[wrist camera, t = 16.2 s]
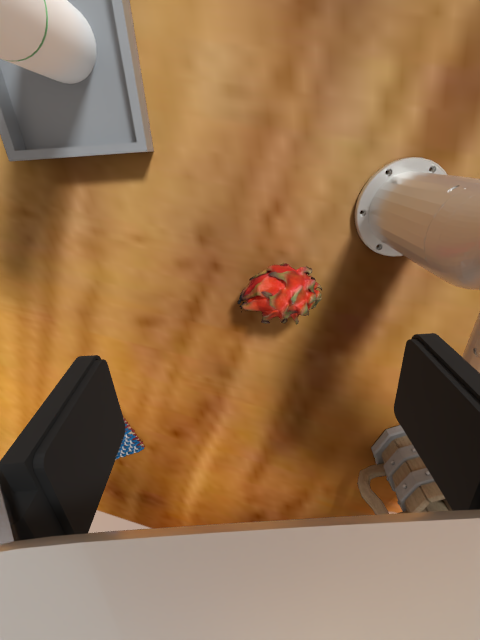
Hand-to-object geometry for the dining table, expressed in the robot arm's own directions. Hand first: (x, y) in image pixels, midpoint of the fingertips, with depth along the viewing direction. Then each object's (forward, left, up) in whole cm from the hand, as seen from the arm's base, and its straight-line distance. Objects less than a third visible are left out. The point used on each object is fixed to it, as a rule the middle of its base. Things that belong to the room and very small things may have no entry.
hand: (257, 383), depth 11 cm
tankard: (-26, +49, -39) cm, 68 cm away
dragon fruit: (-5, +12, -39) cm, 41 cm away
